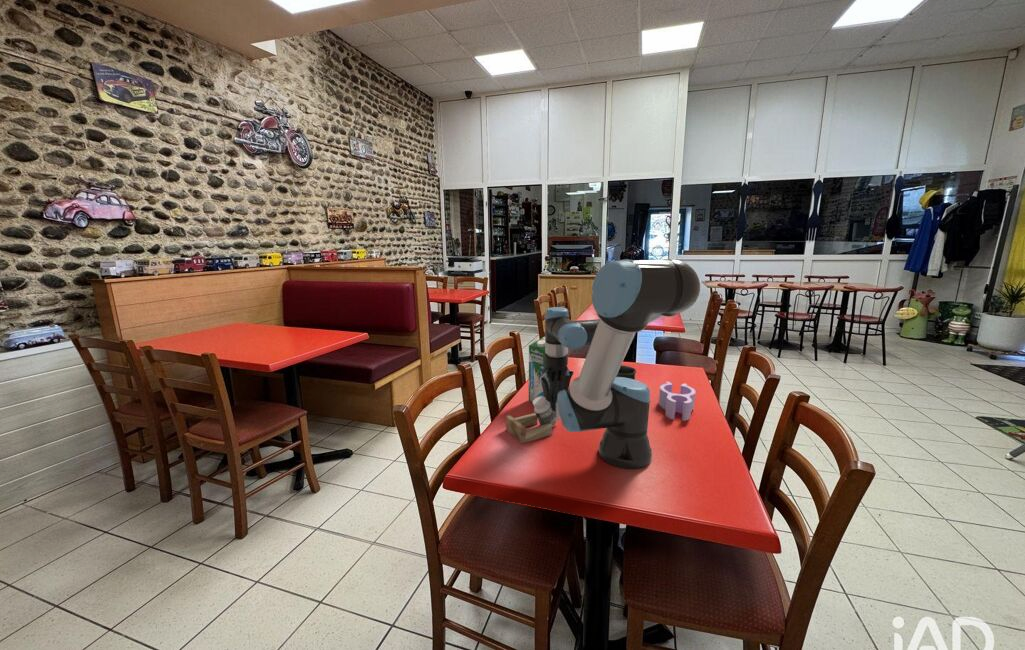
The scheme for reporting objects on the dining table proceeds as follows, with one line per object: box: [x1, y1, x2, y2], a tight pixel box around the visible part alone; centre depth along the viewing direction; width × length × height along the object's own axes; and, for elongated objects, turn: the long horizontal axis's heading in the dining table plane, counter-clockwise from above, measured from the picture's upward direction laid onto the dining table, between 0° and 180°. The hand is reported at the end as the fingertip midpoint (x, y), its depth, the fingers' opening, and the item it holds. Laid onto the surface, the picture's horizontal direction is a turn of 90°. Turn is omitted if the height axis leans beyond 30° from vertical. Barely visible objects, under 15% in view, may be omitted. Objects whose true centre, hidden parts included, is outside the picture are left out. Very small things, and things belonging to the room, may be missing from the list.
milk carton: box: [528, 335, 550, 404], centre depth 156 cm, size 9×9×25 cm
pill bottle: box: [532, 396, 557, 428], centre depth 136 cm, size 6×6×10 cm
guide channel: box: [505, 412, 553, 444], centre depth 134 cm, size 10×12×5 cm
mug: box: [616, 364, 637, 380], centre depth 161 cm, size 11×15×12 cm
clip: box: [658, 381, 697, 422], centre depth 151 cm, size 20×12×7 cm, turn 162°
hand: (555, 418), depth 140 cm, fingers closed
